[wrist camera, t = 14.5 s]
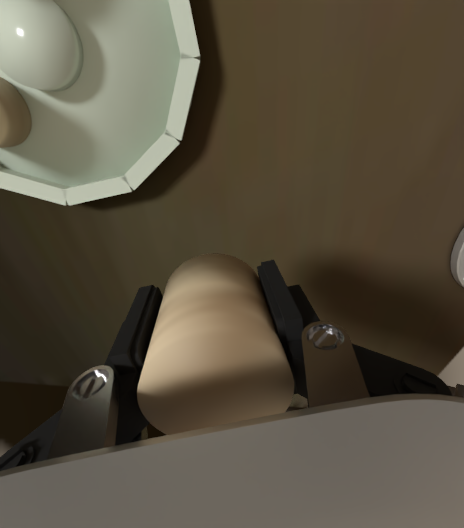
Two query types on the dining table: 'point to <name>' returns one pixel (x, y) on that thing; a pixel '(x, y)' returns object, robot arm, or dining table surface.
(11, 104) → the tan egg
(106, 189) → the pale green faceted plate
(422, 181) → the dining table surface
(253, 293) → the brown egg
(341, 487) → the robot arm
